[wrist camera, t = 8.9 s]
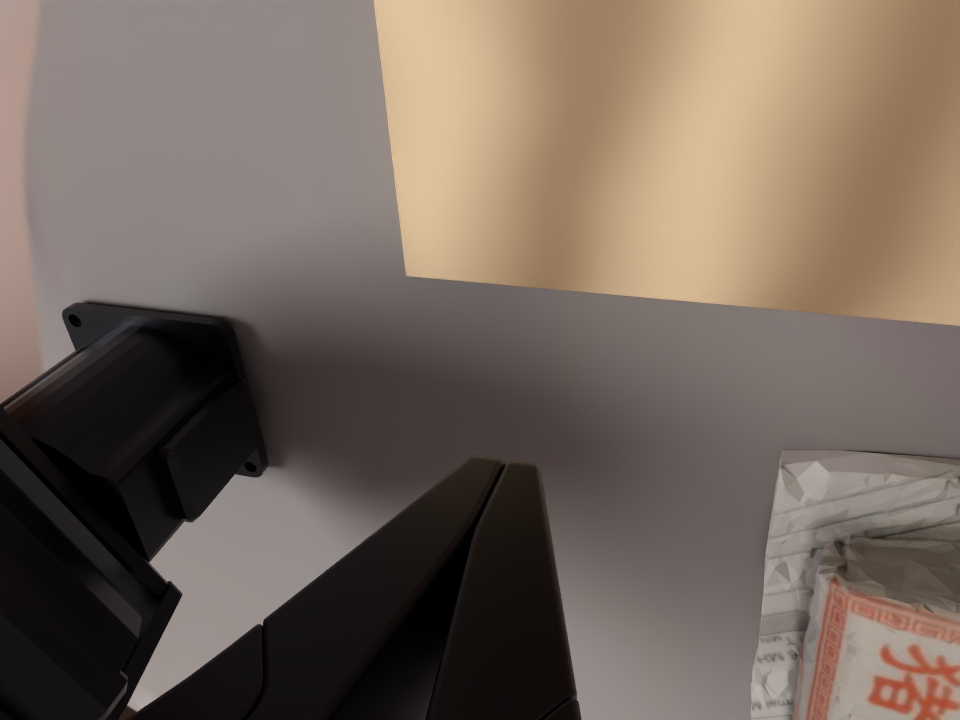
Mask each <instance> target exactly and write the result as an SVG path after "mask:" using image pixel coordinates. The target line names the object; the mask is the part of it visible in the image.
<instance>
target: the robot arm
mask: <svg viewBox="0 0 960 720" xmlns="http://www.w3.org/2000/svg"><path fill="white" fill-rule="evenodd" d="M62 317H63V320H64V323H65V325H66V328H67V330H68V333H69V335H70V338H71V340H72V343H73V345H74V347H75V350H76V351H75V352H73V353H72V354H70V355H69V356H67V357H66V358H65V359H63V360H62V361H60V362H59V363H58V364H56V365H55V366H53V367H52V368H50V369H49V370H48V371H46V372H45V373H43V374H42V375H41V376H39V377H38V378H36V379H35V380H33V381H32V382H31V383H29V384H28V385H26V386H25V387H24V388H22V389H21V390H19V391H18V392H16V393H15V394H14V395H12V396H11V397H9V398H8V399H7V400H5V401H4V402H2V403H1V404H0V720H118V719H119V718H120V716H121V714H122V713H123V711H124V709H125V707H126V706H127V704H128V702H129V700H130V698H131V696H132V694H133V692H134V690H135V688H136V686H137V684H138V682H139V680H140V678H141V676H142V674H143V672H144V670H145V668H146V666H147V664H148V662H149V660H150V658H151V656H152V654H153V652H154V650H155V648H156V646H157V644H158V642H159V640H160V638H161V636H162V634H163V632H164V630H165V628H166V626H167V625H168V623H169V621H170V619H171V617H172V615H173V613H174V611H175V609H176V607H177V605H178V603H179V601H180V599H181V597H182V593H181V592H180V590H179V589H178V588H177V587H176V586H175V585H174V584H173V583H172V582H171V581H168V582H167V581H166V580H165V579H164V578H163V577H162V576H161V575H160V574H159V573H158V572H157V571H156V570H155V569H154V568H153V567H152V565H151V564H150V563H149V562H150V561H151V560H152V559H153V558H154V556H155V555H156V554H157V553H158V552H159V550H160V549H161V548H162V547H163V546H164V545H165V543H166V542H167V541H168V540H169V539H170V538H171V536H172V535H173V534H174V533H175V532H176V531H177V529H178V528H179V527H180V526H181V525H182V524H183V522H184V521H186V522H194V521H195V520H196V519H197V518H198V517H199V516H200V515H201V514H202V513H203V512H204V511H205V509H206V508H207V507H208V506H209V505H210V503H211V502H212V501H213V500H214V499H215V497H216V496H217V495H218V494H219V493H220V491H221V490H222V489H223V488H224V487H225V485H226V484H227V483H228V482H229V481H230V479H231V478H232V477H233V476H234V475H235V474H237V475H243V476H249V477H259V476H261V475H262V474H263V473H264V471H265V470H266V469H267V467H268V460H267V456H266V452H265V448H264V444H263V440H262V437H261V433H260V429H259V425H258V421H257V417H256V414H255V410H254V406H253V402H252V398H251V394H250V390H249V387H248V383H247V379H246V375H245V371H244V367H243V363H242V360H241V356H240V352H239V348H238V344H237V340H236V336H235V333H234V331H233V329H232V327H231V326H230V325H229V324H228V323H227V322H225V321H224V320H221V319H218V318H209V317H200V316H192V315H183V314H174V313H165V312H156V311H148V310H139V309H130V308H121V307H112V306H104V305H95V304H86V303H74V304H72V305H71V306H69V307H67V308H66V309H65V310H63V313H62ZM215 332H216V333H218V334H219V335H220V337H221V338H220V337H219V336H218V335H216V333H215ZM126 720H581V714H580V707H579V702H578V701H577V691H576V685H575V679H574V673H573V667H572V661H571V654H570V648H569V642H568V636H567V630H566V624H565V617H564V611H563V605H562V599H561V593H560V587H559V581H558V574H557V568H556V562H555V556H554V550H553V544H552V537H551V531H550V525H549V519H548V513H547V507H546V501H545V494H544V488H543V482H542V476H541V470H540V468H539V466H538V465H536V464H532V463H525V462H519V461H509V462H507V463H506V462H505V461H504V460H503V459H500V458H493V457H487V456H480V455H475V456H473V457H471V458H469V459H468V460H467V461H465V462H464V463H463V464H461V465H460V466H459V467H458V468H456V469H455V470H454V471H453V472H451V473H450V474H449V475H447V476H446V477H445V478H444V479H442V480H441V481H440V482H439V483H437V484H436V485H435V486H433V487H432V488H431V489H430V490H428V491H427V492H426V493H425V494H423V495H422V496H421V497H419V498H418V499H417V500H416V501H414V502H413V503H412V504H411V505H409V506H408V507H407V508H405V509H404V510H403V511H402V512H400V513H399V514H398V515H396V516H395V517H394V518H393V519H391V520H390V521H389V522H388V523H386V524H385V525H384V526H382V527H381V528H380V529H379V530H377V531H376V532H375V533H374V534H372V535H371V536H370V537H368V538H367V539H366V540H365V541H363V542H362V543H361V544H360V545H358V546H357V547H356V548H354V549H353V550H352V551H351V552H349V553H348V554H347V555H346V556H344V557H343V558H342V559H340V560H339V561H338V562H337V563H335V564H334V565H333V566H332V567H330V568H329V569H328V570H326V571H325V572H324V573H323V574H321V575H320V576H319V577H317V578H316V579H315V580H314V581H312V582H311V583H310V584H309V585H307V586H306V587H305V588H303V589H302V590H301V591H300V592H298V593H297V594H296V595H295V596H293V597H292V598H291V599H289V600H288V601H287V602H286V603H284V604H283V605H282V606H281V607H279V608H278V609H277V610H275V611H274V612H273V613H272V614H270V615H269V616H268V617H267V618H265V619H264V621H263V626H262V625H261V624H258V625H256V626H255V627H253V628H252V629H251V630H250V631H248V632H247V633H246V634H244V635H243V636H242V637H241V638H239V639H238V640H237V641H236V642H234V643H233V644H232V645H230V646H229V647H228V648H226V649H225V650H224V651H222V652H221V653H220V654H218V655H217V656H216V657H214V658H213V659H212V660H210V661H209V662H208V663H206V664H205V665H204V666H202V667H201V668H200V669H198V670H197V671H196V672H194V673H193V674H192V675H190V676H189V677H188V678H186V679H185V680H183V681H182V682H180V683H179V684H178V685H176V686H175V687H173V688H172V689H170V690H169V691H167V692H166V693H164V694H163V695H161V696H160V697H158V698H157V699H156V700H154V701H153V702H151V703H150V704H148V705H147V706H145V707H144V708H142V709H141V710H139V711H138V712H137V713H135V714H134V715H132V716H131V717H129V718H128V719H126Z"/></svg>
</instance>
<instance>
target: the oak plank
mask: <svg viewBox="0 0 960 720" xmlns="http://www.w3.org/2000/svg"><path fill="white" fill-rule="evenodd" d="M374 7H375V15H376V24H377V32H378V41H379V49H380V58H381V66H382V75H383V83H384V92H385V100H386V109H387V117H388V126H389V134H390V143H391V151H392V160H393V168H394V177H395V185H396V194H397V202H398V211H399V220H400V228H401V237H402V245H403V254H404V262H405V271H406V276H413V277H424V278H435V279H446V280H457V281H468V282H480V283H491V284H502V285H513V286H524V287H535V288H546V289H557V290H568V291H580V292H591V293H602V294H613V295H624V296H635V297H646V298H657V299H668V300H680V301H691V302H702V303H713V304H724V305H735V306H746V307H757V308H768V309H780V310H791V311H802V312H813V313H824V314H835V315H846V316H857V317H868V318H880V319H891V320H902V321H913V322H924V323H935V324H946V325H957V326H960V0H374Z"/></svg>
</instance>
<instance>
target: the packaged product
mask: <svg viewBox="0 0 960 720" xmlns="http://www.w3.org/2000/svg"><path fill="white" fill-rule="evenodd" d="M752 680H753V681H752V683H751V717H750V719H749V720H960V459H952V458H938V457H923V456H909V455H895V454H880V453H866V452H854V451H843V450H782V451H781V458H780V464H779V470H778V476H777V482H776V488H775V494H774V500H773V507H772V513H771V520H770V526H769V533H768V539H767V546H766V552H765V571H764V591H763V601H762V612H761V622H760V633H759V644H758V648H757V652H756V656H755V661H754V665H753V669H752Z"/></svg>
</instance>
